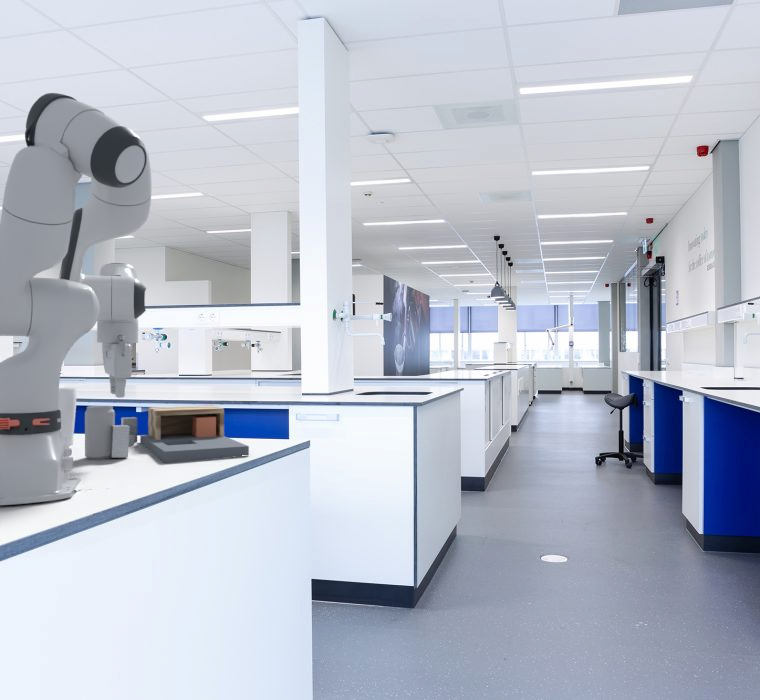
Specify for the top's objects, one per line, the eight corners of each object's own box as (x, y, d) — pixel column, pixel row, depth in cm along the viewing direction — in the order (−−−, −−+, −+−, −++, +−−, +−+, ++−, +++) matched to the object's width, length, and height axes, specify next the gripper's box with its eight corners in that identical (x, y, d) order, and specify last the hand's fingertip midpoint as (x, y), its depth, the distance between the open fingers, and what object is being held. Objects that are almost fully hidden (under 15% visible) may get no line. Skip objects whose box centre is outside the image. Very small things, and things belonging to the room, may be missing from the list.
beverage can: (104, 460, 157) (104, 407, 157) (78, 459, 158) (78, 406, 158) (120, 456, 163) (120, 405, 163) (95, 455, 164) (95, 404, 164)
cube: (215, 436, 181) (215, 417, 181) (196, 437, 179) (196, 417, 179) (211, 434, 185) (211, 415, 185) (192, 435, 183) (192, 416, 183)
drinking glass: (81, 445, 182) (81, 387, 182) (67, 448, 175) (67, 389, 175) (56, 445, 183) (56, 387, 183) (41, 448, 176) (41, 389, 176)
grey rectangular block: (148, 456, 161) (149, 426, 162) (111, 457, 158) (113, 426, 158) (132, 446, 180) (134, 419, 180) (99, 447, 176) (101, 419, 176)
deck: (248, 456, 162) (248, 446, 162) (164, 462, 154) (164, 451, 154) (212, 440, 192) (212, 431, 192) (140, 444, 183) (140, 435, 183)
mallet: (137, 444, 183) (137, 418, 183) (123, 445, 182) (123, 418, 182) (129, 439, 195) (129, 413, 195) (116, 439, 194) (116, 414, 194)
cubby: (224, 436, 182) (224, 408, 182) (156, 439, 174) (156, 411, 174) (212, 431, 192) (212, 405, 192) (148, 434, 184) (148, 407, 184)
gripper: (139, 335, 152) (138, 399, 153) (126, 335, 170) (125, 391, 171) (108, 335, 149) (107, 400, 150) (98, 334, 168) (98, 392, 168)
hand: (117, 395), depth 160 cm, fingers open, 8 cm apart
